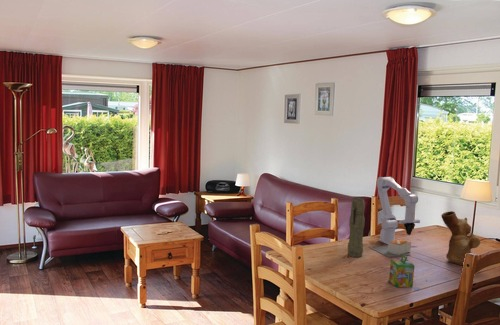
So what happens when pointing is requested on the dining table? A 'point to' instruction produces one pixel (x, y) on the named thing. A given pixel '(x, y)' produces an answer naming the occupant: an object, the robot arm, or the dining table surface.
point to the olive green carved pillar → (356, 228)
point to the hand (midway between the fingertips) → (408, 234)
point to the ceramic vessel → (459, 238)
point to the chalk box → (401, 272)
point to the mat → (384, 251)
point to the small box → (399, 247)
